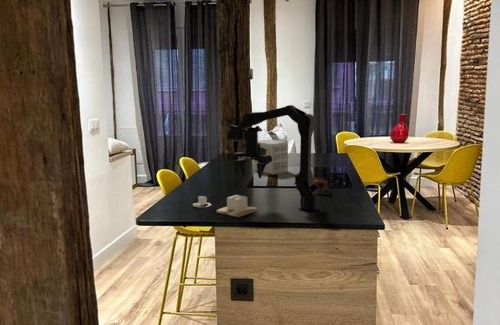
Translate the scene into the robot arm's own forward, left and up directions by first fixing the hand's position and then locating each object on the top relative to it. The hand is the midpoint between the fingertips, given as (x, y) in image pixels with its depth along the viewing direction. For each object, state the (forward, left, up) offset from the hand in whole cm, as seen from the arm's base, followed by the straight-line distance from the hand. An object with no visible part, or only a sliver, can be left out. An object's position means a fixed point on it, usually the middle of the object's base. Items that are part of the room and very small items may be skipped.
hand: (251, 176), depth 205 cm
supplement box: (+38, -65, -12) cm, 76 cm away
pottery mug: (-14, -34, -12) cm, 39 cm away
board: (-3, +14, -12) cm, 19 cm away
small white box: (-3, +14, -11) cm, 18 cm away
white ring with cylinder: (+19, +17, -13) cm, 28 cm away
